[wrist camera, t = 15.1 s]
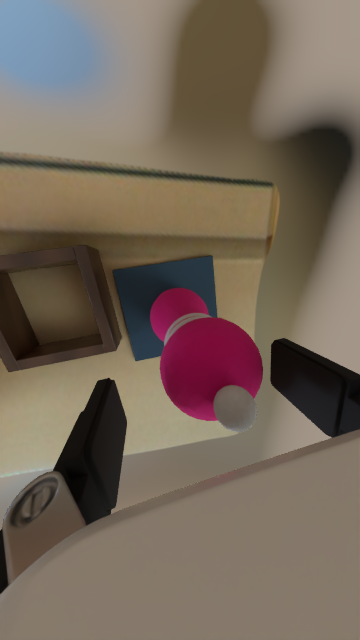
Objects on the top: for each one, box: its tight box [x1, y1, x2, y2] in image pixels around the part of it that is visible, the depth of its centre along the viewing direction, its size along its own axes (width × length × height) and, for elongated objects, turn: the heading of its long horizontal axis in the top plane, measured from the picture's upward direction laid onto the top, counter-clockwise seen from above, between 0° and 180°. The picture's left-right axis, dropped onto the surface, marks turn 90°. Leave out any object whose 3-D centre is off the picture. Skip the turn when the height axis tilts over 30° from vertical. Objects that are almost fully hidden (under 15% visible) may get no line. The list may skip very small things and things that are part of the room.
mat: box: [113, 256, 217, 361], centre depth 26 cm, size 14×14×1 cm
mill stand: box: [0, 245, 122, 372], centre depth 21 cm, size 13×13×4 cm
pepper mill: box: [150, 288, 263, 432], centre depth 16 cm, size 7×7×20 cm
